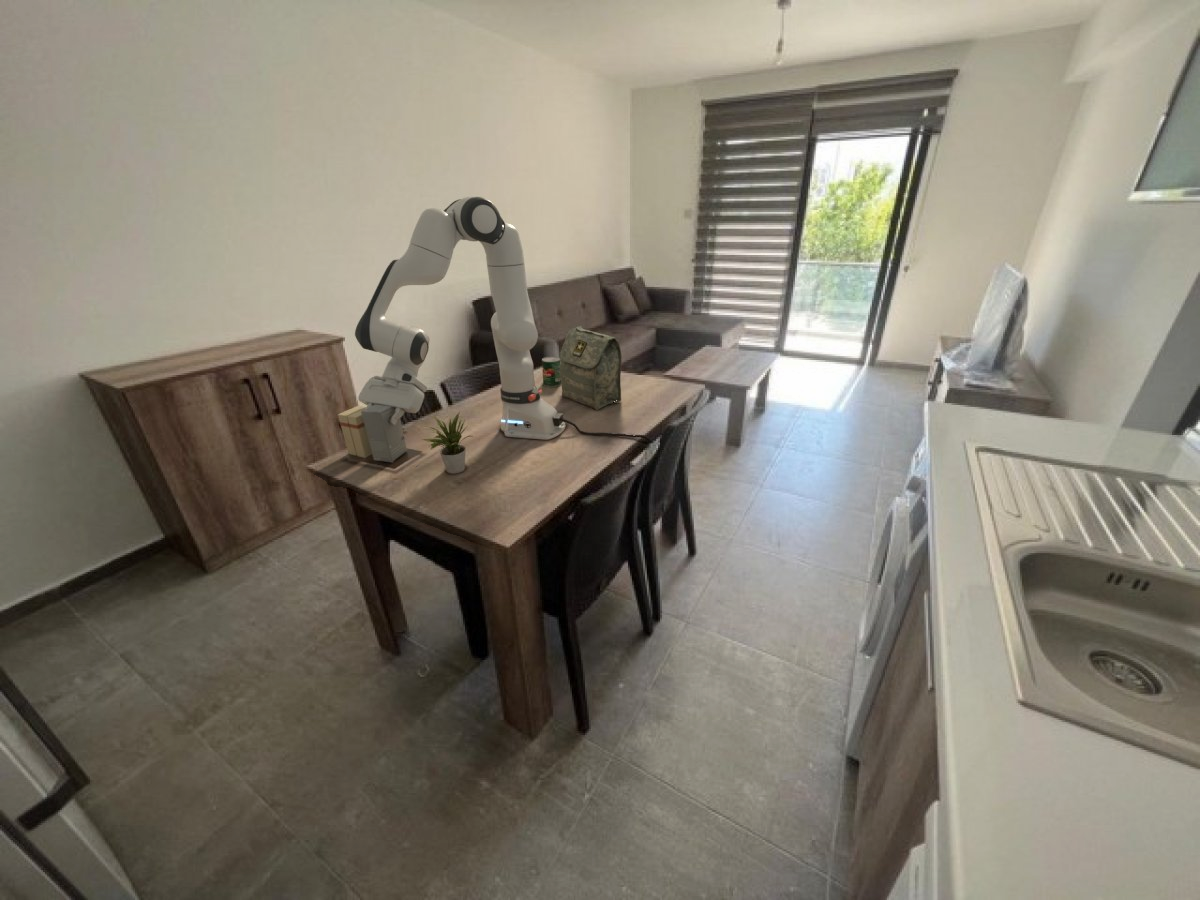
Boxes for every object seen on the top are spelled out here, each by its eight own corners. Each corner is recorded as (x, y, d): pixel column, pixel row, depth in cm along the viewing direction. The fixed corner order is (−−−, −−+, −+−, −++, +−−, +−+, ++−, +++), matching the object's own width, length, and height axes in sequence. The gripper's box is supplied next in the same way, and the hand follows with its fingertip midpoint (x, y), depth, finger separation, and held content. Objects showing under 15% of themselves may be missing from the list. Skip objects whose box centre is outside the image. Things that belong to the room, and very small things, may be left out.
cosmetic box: (392, 463, 139) (381, 413, 132) (370, 460, 141) (358, 411, 133) (408, 450, 147) (399, 402, 139) (388, 448, 148) (377, 400, 141)
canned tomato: (541, 386, 204) (539, 361, 199) (545, 380, 211) (544, 356, 206) (559, 387, 203) (557, 361, 198) (563, 381, 210) (562, 356, 205)
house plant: (439, 455, 146) (431, 405, 139) (484, 456, 146) (478, 406, 139) (422, 479, 133) (412, 425, 126) (471, 479, 133) (464, 425, 126)
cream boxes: (384, 447, 149) (375, 408, 143) (365, 457, 143) (355, 417, 137) (367, 443, 151) (358, 405, 145) (348, 454, 145) (337, 414, 139)
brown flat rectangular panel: (423, 454, 147) (423, 451, 146) (395, 472, 137) (394, 468, 136) (373, 444, 154) (372, 441, 153) (343, 460, 144) (342, 457, 143)
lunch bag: (556, 397, 192) (553, 328, 180) (587, 388, 202) (586, 322, 189) (594, 412, 177) (593, 339, 165) (624, 402, 187) (626, 331, 174)
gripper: (364, 370, 142) (345, 411, 139) (419, 378, 136) (400, 422, 132) (378, 380, 148) (360, 420, 144) (432, 388, 141) (414, 430, 137)
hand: (380, 421), depth 138 cm, fingers closed on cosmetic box, 7 cm apart
